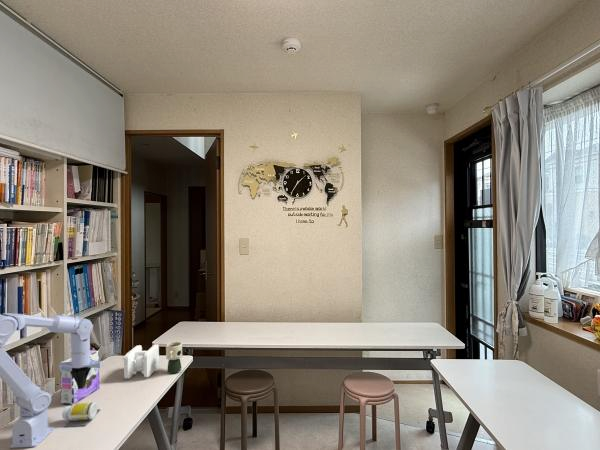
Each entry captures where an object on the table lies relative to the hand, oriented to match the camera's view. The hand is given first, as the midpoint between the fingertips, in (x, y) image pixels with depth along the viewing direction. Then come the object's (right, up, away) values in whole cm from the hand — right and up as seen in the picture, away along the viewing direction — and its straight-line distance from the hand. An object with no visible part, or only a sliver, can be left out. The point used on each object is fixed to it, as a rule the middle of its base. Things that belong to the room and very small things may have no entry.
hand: (81, 387), depth 127 cm
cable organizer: (+7, -10, +34) cm, 36 cm away
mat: (+2, -10, -3) cm, 11 cm away
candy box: (-9, -10, +14) cm, 19 cm away
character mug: (+21, -9, +35) cm, 42 cm away
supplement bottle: (+7, -7, -4) cm, 10 cm away
